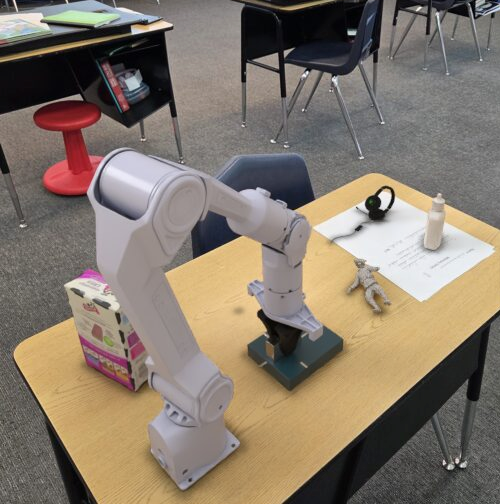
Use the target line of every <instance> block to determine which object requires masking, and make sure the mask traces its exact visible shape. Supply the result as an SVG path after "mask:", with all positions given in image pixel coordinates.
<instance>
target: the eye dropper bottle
mask: <svg viewBox="0 0 500 504" xmlns="http://www.w3.org/2000/svg"><path fill="white" fill-rule="evenodd" d="M442 195H443V194H442V193H439V192H438V193H437V195H436V197H433V198H432V200H431V201H432V202H431V207H430V208H429V210H428V213H427V216H426V217H427V218H426V223H425V231H424V237H423V247H424V248H425V249H427V250H432V251H436V250H437V249H438V248H440V246H441V243H442V238H443V232H444V226H445V219H446V209H445V204H446V199H444V198H443V196H442Z"/></svg>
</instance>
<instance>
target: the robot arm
mask: <svg viewBox="0 0 500 504" xmlns="http://www.w3.org/2000/svg"><path fill="white" fill-rule="evenodd" d="M86 195H87V197H88V199H89V203H90V204H91V206H92V209H93V211H94V213H95V247H96V249H95V250H96V251H95V252H96V254H95V255H96V256H95V257H96V265H97V269H98V271H99V272H100V273H99V274H102V276H103V278H104V279H105V281H106V283H107V285H108V286H109V288H110V290H111V291H112V293H113V295H114V296H115V298H116V300H117V301H118V303H119V305H120V307H121V308H122V310H123V312H124V313H125V315H126V317H127V318H128V320H129V322H130V323H131V325H132V327H133V328H134V330H135V332H136V334H137V335H138V337H139V339H140V340H141V342H142V344H143V345H144V347H145V349H146V350H147V352H148V354H149V356H148V358H147V359H146V361H145V365H146V366H147V368H148V381H147V383H148V387H149V388H150V389H151V390H152V391H154V392H156V393H158V394H160V397H161V398H160V399H161V401H162V402H163V405H164V406H163V407H162V409H161V410H160V412H158V413H157V415H156V416H155V417H154V418H152V420H151V421H149V422H148V423H147V426H146V427H147V433H148V436H149V441H150V445H151V448H150V454H151V455H152V456H153V458H155V460H156V461H157V462H158V464H159V465H160V466H161V468H163V470H164V471H165V472H166V473H167V474H168V475H169V478H171V480H172V481H173V482H174V484H176V485H177V487H178V488H179V489H180V490H181V491H186V490H188V489H189V488H190V487H191V486H192V485H194V484H195V483H196V482H197V481H199V480H200V479H201V478H202V477H204V476H205V475H206V474H208V473H209V472H210V471H211V470H212V469H214V468H215V467H216V466H217V465H219V464H220V463H221V462H223V460H225V459H227V457H229V456H230V455H231V454H232V453H234V452H235V451H236V450H237V449H238V448H240V447H241V442H240V440H239V439H238V438H237V437H236V436H235V435H234V434H233V433H232V432H231V431H230V430H229V429H228V428H227V427H226V422H225V421H226V420H225V413H226V410H227V409H228V408H229V406H230V404H231V402H232V400H233V396H234V387H235V386H234V385H235V384H234V380H233V378H232V377H230V376H229V375H227V374H224V373H223V372H222V371H221V369H220V368H219V366H218V365H217V364H215V363H214V362H213V361H212V360H211V358H209V357H208V356H207V355H206V354H205V353H204V352H203V351H202V350H201V348H200V346H199V343H198V341H197V338H196V337H195V335H194V333H193V330H192V328H191V326H190V324H189V322H188V320H187V318H186V315H185V314H184V312H183V309H182V307H181V305H180V303H179V301H178V299H177V297H176V294H175V292H174V290H173V288H172V286H171V283H170V282H169V279H168V278H167V275H166V273H165V271H164V269H163V267H164V266H168V265H170V264H171V262H172V261H173V259H174V258H175V256H176V255H177V253H178V251H179V250H180V249H181V248H182V246H183V244H184V242H185V241H186V239H187V238H188V237H189V235H190V234H191V232H192V231H193V229H194V227H195V226H196V224H197V223H198V222H203V221H204V220H205V219H206V218H207V215H208V212H212V213H215V214H217V215H219V216H222V217H225V218H226V222H227V225H228V228H230V229H231V231H232V232H233V233H235V234H238V235H240V236H243V237H245V238H248V239H250V240H253V241H255V242H258V243H260V244H261V265H262V267H261V268H262V281H261V280H259V279H257V278H255V279H254V280H252V281H250V282H249V283H247V284H246V289H247V290H246V291H247V295H249V296H250V297H254V298H255V299H256V301H257V303H258V305H259V306H260V309H258V310H257V312H256V317H257V318H258V319H259V320H260V321H261V323H262V324H263V326H264V328H265V330H266V332H268V334H269V337H272V336H273V335H275V334H276V333H278V334H279V337H280V340H281V346H282V351H283V354H284V355H285V356H288V355H289V354H290V353H292V352H293V351H294V350H295V349H296V346H297V342H298V340H299V337H300V335H301V333H302V332H303V330H304V331H306V332H307V333H309V339H311V340H312V341H315V340H316V339H318V338H319V337H320V336H322V335H323V325H324V324H323V323H321V322H320V321H319V320H318V319H317V318H316V317H315V315H314V314H313V312H312V311H311V309H310V307H309V306H308V305H307V304H306V302H305V301H304V300H306V298H307V294H306V293H305V291H303V277H304V275H303V274H304V273H303V271H304V270H303V269H304V268H303V267H304V266H303V260H304V259H305V258H306V254H307V249H308V243H309V240H310V238H311V235H312V230H313V225H311V224H310V222H309V220H308V219H307V217H306V215H304V214H303V213H300V212H297V211H295V210H292V209H290V208H288V203H286V202H285V201H283V200H280V199H276V200H274V199H273V198H270V197H271V192H270V191H268V190H267V189H264V188H261V187H259V186H258V187H256V188H255V189H251V188H247V189H243V190H241V191H236V190H235V189H234V188H231V187H230V186H228V185H226V184H225V183H223V182H222V181H220V180H218V179H217V178H215V177H213V176H211V175H209V174H208V173H205V172H202V171H200V170H198V169H195V168H193V167H190V166H187V165H184V164H181V163H178V162H174V161H172V160H169V159H166V158H162V157H159V156H155V155H151V154H147V155H145V154H143V153H142V152H141V151H138V150H137V149H135V148H132V147H120V148H116V149H114V150H112V151H111V152H109V153H108V154H106V155H105V156H104V158H102V159H101V161H100V162H99V164H98V166H97V168H96V170H95V173H94V175H93V177H92V180H91V181H90V184H89V187H88V188H87V190H86ZM322 324H323V325H322Z"/></svg>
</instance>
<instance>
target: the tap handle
mask: <svg viewBox="0 0 500 504" xmlns="http://www.w3.org/2000/svg"><path fill="white" fill-rule="evenodd" d="M301 343H302V333H301V335H300V337H299V340H298V342H297V346H298V345H299V344H301ZM266 356H267V358H269V359H270V360H271V361H272V362H274V363H275V362H276V361H277V360H279V359H280V358H282V357H283V356H284V354H283V351H282V346H281V340H280V337H279V334H278V333H276V334H275V335H273V336H272V337H270V338H269V339H268V340H266Z"/></svg>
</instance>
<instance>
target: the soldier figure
mask: <svg viewBox="0 0 500 504" xmlns="http://www.w3.org/2000/svg"><path fill="white" fill-rule="evenodd" d="M366 262H367V260H366V259H364V258H355V259H353V263H354V264H355V266H356V268H357V272H356V273H355V277H354V282H353V283H352V285H351V286H350V287H349V288H348V289H347V291H346V294H349V295H351V291H353V290H354V289H356V288H357V287H358V286H359V285H361V286H362V287H363V288H364V291H365V294H364V298H365V301H366V302H367V304H368V305H370V306H372V307H373V308H374V309H372V312H373V313H374V314H380V313H381V312H382V313H383V310H382V309H381V308H380V306H378V304H377V302H376V301H375V299H374V296H375V294H377V295H379V296H380V297H381V298H382V299H384V301H383V304H384V306H388V307H390V306H392V301H390V299H389V297H388V296H387V293H386V292H385V291H384V289H383V287H382V286H380V285H379V283H378V282H377V280H376V279H375V275H374V274H373V272H374V273H377V272H379V271H380V270H381V267H380V266H373V265H369V264H366V265H365V263H366Z"/></svg>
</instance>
